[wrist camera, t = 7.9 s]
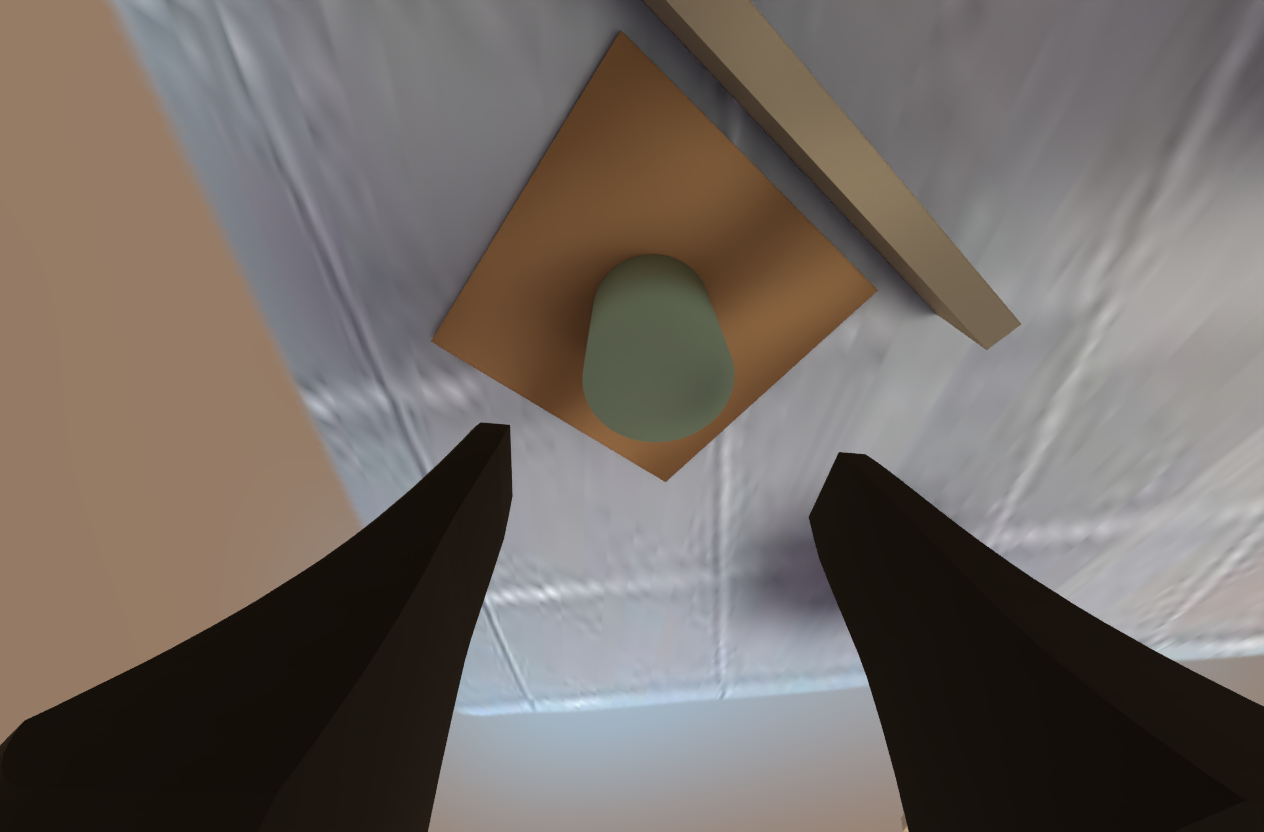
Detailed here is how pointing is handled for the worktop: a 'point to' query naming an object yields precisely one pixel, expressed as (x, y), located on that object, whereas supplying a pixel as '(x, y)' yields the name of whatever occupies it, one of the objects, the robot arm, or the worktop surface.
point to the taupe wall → (835, 157)
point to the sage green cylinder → (655, 352)
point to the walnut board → (641, 225)
